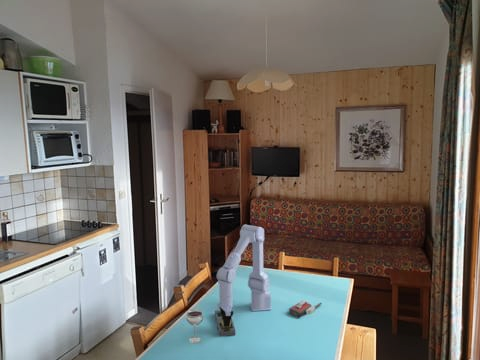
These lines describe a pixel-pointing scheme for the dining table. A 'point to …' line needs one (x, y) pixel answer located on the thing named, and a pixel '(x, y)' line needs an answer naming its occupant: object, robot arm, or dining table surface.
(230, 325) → the nut block
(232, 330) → the grey compartment tray
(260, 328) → the dining table surface
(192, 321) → the wineglass
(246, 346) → the dining table surface
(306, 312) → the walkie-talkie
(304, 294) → the dining table surface
